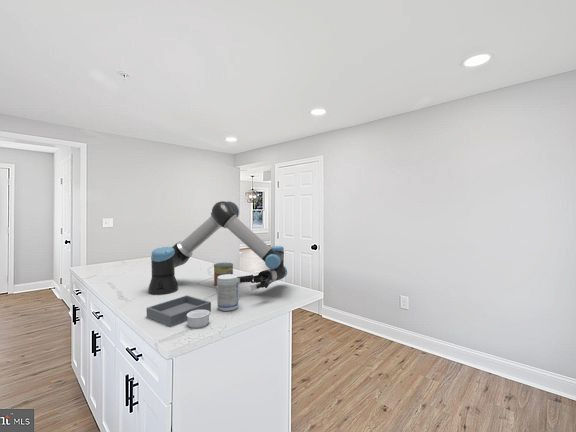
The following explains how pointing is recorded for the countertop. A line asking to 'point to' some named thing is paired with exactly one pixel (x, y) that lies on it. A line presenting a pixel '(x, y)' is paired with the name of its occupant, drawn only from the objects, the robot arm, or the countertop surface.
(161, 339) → the countertop surface
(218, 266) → the canned food
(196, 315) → the ramekin
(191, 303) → the tray
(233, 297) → the supplement tub
